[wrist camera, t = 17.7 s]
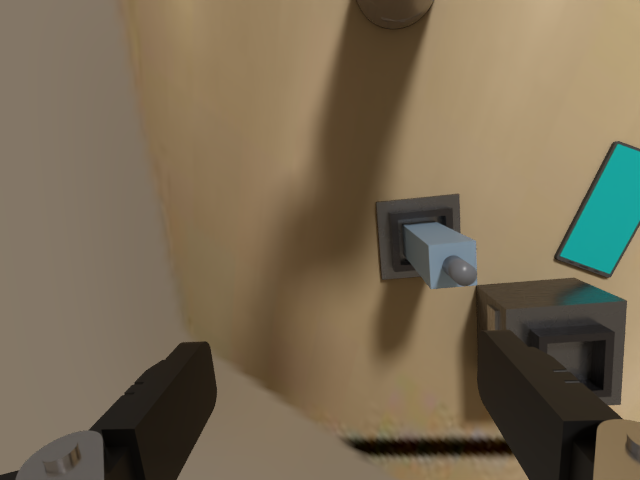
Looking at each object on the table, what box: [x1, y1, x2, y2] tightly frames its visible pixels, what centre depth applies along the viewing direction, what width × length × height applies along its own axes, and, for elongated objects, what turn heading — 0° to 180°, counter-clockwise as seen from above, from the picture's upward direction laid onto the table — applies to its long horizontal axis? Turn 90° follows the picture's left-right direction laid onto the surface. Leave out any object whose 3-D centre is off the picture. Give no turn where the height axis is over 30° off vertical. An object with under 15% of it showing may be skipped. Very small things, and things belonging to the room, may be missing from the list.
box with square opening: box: [476, 278, 627, 405], centre depth 39 cm, size 12×12×10 cm
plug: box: [402, 221, 477, 289], centre depth 34 cm, size 4×4×16 cm
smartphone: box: [554, 141, 640, 278], centre depth 41 cm, size 7×1×15 cm
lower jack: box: [376, 194, 460, 280], centre depth 42 cm, size 10×10×2 cm
